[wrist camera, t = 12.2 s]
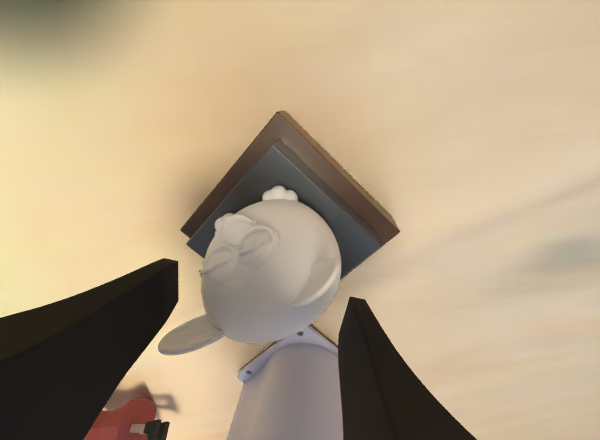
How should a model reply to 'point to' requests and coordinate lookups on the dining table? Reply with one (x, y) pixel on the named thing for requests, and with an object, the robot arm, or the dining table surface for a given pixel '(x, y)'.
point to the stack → (305, 183)
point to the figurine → (262, 275)
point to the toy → (129, 423)
